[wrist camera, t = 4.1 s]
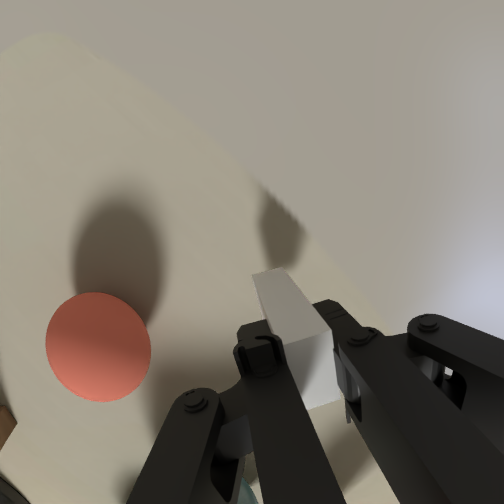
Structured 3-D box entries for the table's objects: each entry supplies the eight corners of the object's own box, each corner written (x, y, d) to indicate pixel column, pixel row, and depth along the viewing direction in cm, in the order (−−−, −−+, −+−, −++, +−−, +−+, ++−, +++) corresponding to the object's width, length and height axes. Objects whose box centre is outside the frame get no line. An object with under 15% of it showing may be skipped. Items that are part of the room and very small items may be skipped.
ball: (94, 369, 16) (64, 426, 11) (57, 290, 15) (8, 331, 10) (172, 355, 17) (160, 418, 11) (138, 266, 15) (104, 307, 10)
